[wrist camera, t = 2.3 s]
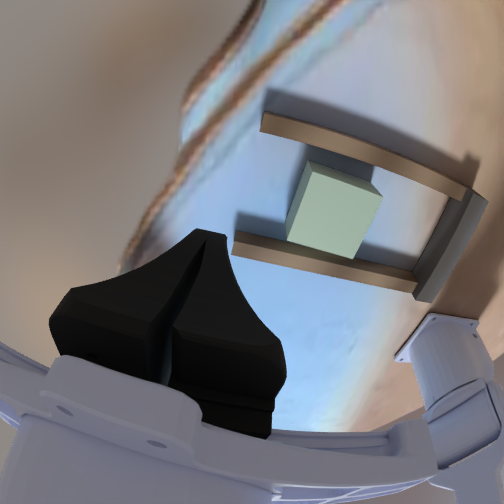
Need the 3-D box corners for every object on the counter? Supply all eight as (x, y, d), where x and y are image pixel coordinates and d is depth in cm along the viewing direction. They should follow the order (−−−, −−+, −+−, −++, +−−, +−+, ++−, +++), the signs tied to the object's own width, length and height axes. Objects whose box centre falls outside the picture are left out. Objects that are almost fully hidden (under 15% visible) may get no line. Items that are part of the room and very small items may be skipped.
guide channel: (472, 189, 19) (488, 201, 16) (421, 285, 24) (431, 303, 22) (264, 111, 17) (263, 114, 15) (233, 243, 23) (229, 261, 21)
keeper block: (369, 181, 20) (383, 197, 17) (344, 237, 22) (352, 259, 20) (307, 159, 19) (312, 171, 17) (285, 220, 22) (286, 240, 19)
